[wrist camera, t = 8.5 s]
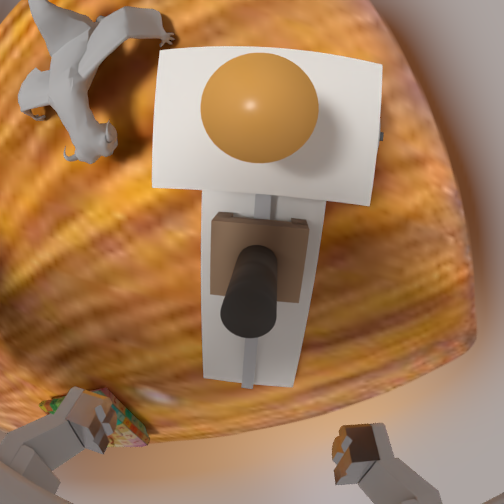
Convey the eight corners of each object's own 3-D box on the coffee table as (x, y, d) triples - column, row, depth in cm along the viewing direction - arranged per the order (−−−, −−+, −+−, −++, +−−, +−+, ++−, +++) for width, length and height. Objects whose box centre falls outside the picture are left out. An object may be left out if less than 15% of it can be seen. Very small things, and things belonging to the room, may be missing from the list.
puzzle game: (146, 449, 36) (78, 448, 40) (154, 427, 40) (87, 432, 45) (92, 400, 32) (36, 408, 37) (106, 379, 37) (47, 392, 41)
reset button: (209, 157, 12) (197, 160, 10) (216, 65, 10) (205, 52, 8) (307, 164, 12) (313, 168, 10) (314, 71, 10) (321, 58, 8)
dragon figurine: (32, 118, 25) (-25, 134, 16) (77, -4, 18) (25, -22, 10) (131, 157, 27) (83, 183, 19) (193, 18, 21) (162, -15, 12)
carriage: (216, 279, 26) (186, 350, 17) (218, 211, 24) (182, 257, 15) (296, 286, 26) (304, 362, 17) (305, 219, 24) (323, 270, 14)
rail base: (198, 365, 33) (176, 430, 24) (202, 81, 22) (159, 50, 13) (307, 376, 32) (313, 445, 23) (353, 93, 22) (396, 68, 12)
